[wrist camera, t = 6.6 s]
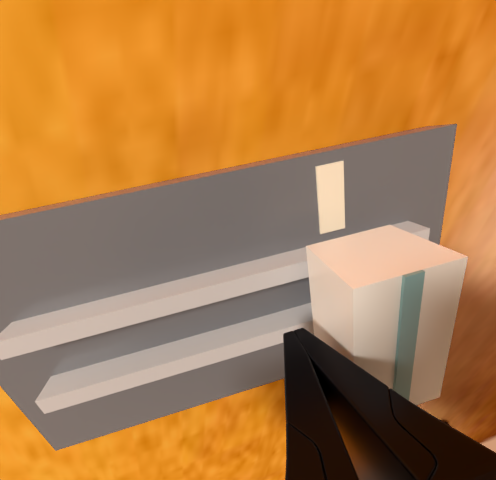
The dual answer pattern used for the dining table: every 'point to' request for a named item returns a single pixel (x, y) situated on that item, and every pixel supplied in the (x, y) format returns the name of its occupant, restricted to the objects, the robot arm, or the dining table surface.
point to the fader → (388, 305)
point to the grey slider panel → (190, 278)
